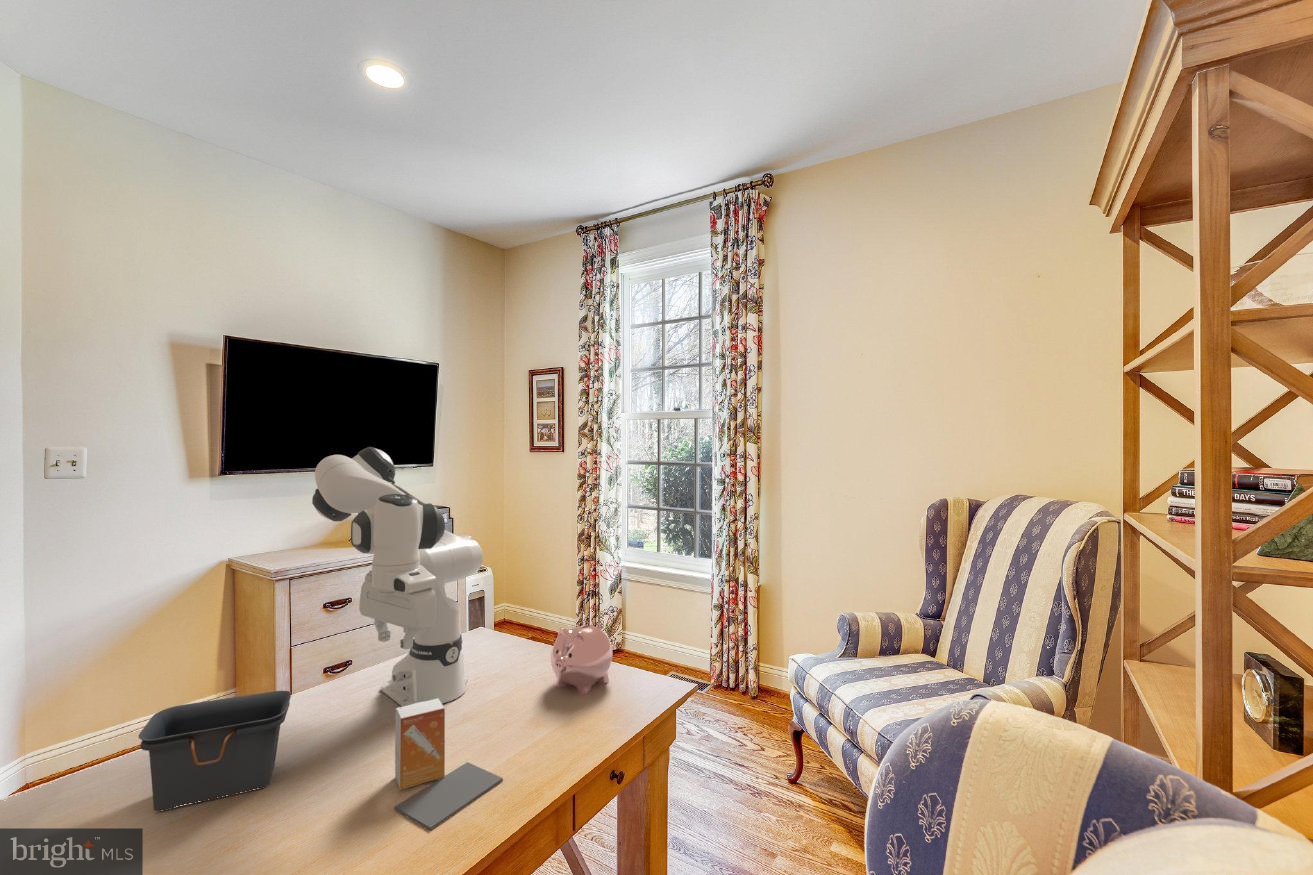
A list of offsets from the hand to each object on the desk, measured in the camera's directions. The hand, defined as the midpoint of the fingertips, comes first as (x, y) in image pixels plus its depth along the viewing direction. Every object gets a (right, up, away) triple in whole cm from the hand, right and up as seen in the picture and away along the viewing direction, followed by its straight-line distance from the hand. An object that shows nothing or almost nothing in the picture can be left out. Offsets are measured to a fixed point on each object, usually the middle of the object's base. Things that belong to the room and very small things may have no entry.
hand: (395, 644), depth 110 cm
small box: (+7, -24, -5) cm, 25 cm away
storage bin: (-28, -24, -9) cm, 38 cm away
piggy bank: (+32, -25, +37) cm, 55 cm away
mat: (+15, -24, -9) cm, 30 cm away
